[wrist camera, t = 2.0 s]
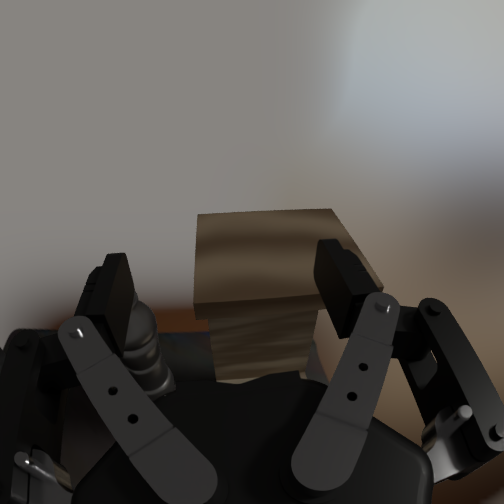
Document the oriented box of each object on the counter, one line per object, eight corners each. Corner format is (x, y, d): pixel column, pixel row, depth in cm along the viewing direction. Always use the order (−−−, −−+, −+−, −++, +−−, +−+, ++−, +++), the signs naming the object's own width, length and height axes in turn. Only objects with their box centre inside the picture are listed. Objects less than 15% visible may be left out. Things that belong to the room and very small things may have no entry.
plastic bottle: (129, 405, 40) (78, 307, 28) (143, 369, 45) (106, 268, 34) (170, 414, 39) (132, 317, 28) (182, 377, 44) (155, 273, 33)
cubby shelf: (320, 438, 36) (383, 286, 21) (222, 450, 35) (193, 303, 20) (302, 369, 46) (331, 208, 31) (216, 378, 45) (197, 214, 29)
